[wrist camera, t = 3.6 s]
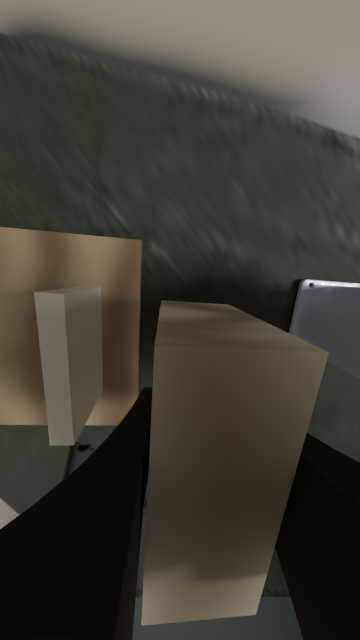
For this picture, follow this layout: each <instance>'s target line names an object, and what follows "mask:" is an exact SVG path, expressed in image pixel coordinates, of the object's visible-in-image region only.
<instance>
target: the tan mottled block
mask: <svg viewBox="0 0 360 640" xmlns="http://www.w3.org/2000/svg"><path fill="white" fill-rule="evenodd" d="M328 355H329V352H327V351H325V350H323V349H321V348H319V347H317V346H314V345H312V344H310V343H308V342H306V341H304V340H302V339H300V338H298V337H296V336H294V335H291V334H289V333H287V332H285V331H283V330H281V329H279V328H277V327H275V326H273V325H271V324H268V323H266V322H264V321H262V320H260V319H258V318H256V317H254V316H252V315H250V314H248V313H245V312H243V311H241V310H239V309H237V308H235V307H233V306H231V305H227V304H212V303H196V302H181V301H165V300H161V305H160V312H159V319H158V326H157V333H156V339H155V349H154V370H153V391H152V412H151V434H150V455H149V476H148V497H147V518H146V539H145V561H144V582H143V603H142V624H141V625H151V624H162V623H173V622H183V621H193V620H204V619H214V618H225V617H236V616H247V615H256V612H257V608H258V604H259V601H260V598H261V594H262V591H263V587H264V583H265V580H266V576H267V573H268V569H269V566H270V562H271V558H272V555H273V551H274V548H275V544H276V540H277V537H278V533H279V530H280V526H281V523H282V519H283V515H284V512H285V508H286V505H287V501H288V498H289V494H290V490H291V487H292V483H293V480H294V476H295V473H296V469H297V465H298V462H299V458H300V455H301V451H302V448H303V444H304V440H305V437H306V433H307V430H308V426H309V423H310V419H311V415H312V412H313V408H314V405H315V401H316V398H317V394H318V390H319V387H320V383H321V380H322V376H323V373H324V369H325V365H326V362H327V358H328Z"/></svg>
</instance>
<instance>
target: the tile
mask: <svg viewBox="0 0 360 640" xmlns="http://www.w3.org/2000/svg"><path fill="white" fill-rule="evenodd" d="M34 297H35V306H36V316H37V325H38V335H39V345H40V354H41V364H42V373H43V383H44V392H45V402H46V412H47V421H48V431H49V440H50V445H74V444H75V442H76V441H77V439H78V437H79V435H80V433H81V431H82V429H83V427H84V425H85V424H86V422H87V420H88V418H89V416H90V414H91V412H92V410H93V409H94V407H95V405H96V403H97V401H98V399H99V397H100V395H101V394H102V392H103V366H102V321H101V287H96V286H75V287H68V288H61V289H54V290H46V291H39V292H34Z"/></svg>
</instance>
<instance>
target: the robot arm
mask: <svg viewBox="0 0 360 640" xmlns="http://www.w3.org/2000/svg"><path fill="white" fill-rule="evenodd" d="M310 283H311V287H309V284H310ZM289 334H291V335H294V336H296V337H298V338H300V339H302V340H304V341H306V342H308V343H310V344H312V345H314V346H317V347H319V348H321V349H323V350H325V351H327V352H329V355H328V358H327V362H329V363H330V364H332V365H334V366H336V367H338V368H340V369H342V370H343V371H345V372H347V373H349V374H351V375H353V376H355V377H356V378H358V379H360V284H359V283H347V282H335V281H322V280H310V279H304V280H302V281H301V282H300V284H299V289H298V293H297V298H296V302H295V307H294V311H293V316H292V320H291V325H290V329H289ZM152 391H153V388H146V387H144V388H143V389H142V391H141V393H140V395H139V396H138V398H137V400H136V401H135V403H134V404H133V406H132V407H131V409H130V410H129V411H128V413H127V414H126V416H125V417H124V418H123V419H122V421H121V422H120V423H119V424H118V426H117V427H116V428H115V429H114V431H113V432H112V433H111V434H110V435H109V436H108V437H107V439H106V440H105V441H104V442H103V443H102V444H101V445H100V446H99V447H98V448H97V449H96V450H95V451H94V452H93V453H92V454H91V455H90V456H89V457H88V458H87V459H86V460H85V461H84V462H83V463H82V464H81V465H80V466H79V467H78V468H76V469H75V470H74V471H73V472H72V473H71V474H70V475H69V476H68V477H66V478H65V479H64V480H63V481H62V482H60V483H59V484H58V485H57V486H56V487H54V488H53V489H52V490H51V491H50V492H48V493H47V494H46V495H45V496H44V497H42V498H41V499H40V500H39V501H37V502H36V503H35V504H34V505H32V506H31V507H30V508H29V509H27V510H26V511H25V512H23V513H22V514H20V515H19V516H18V517H17V518H15V519H14V520H12V521H11V522H10V523H8V524H7V525H6V526H4V527H3V528H2V529H0V640H132V634H133V622H134V621H133V620H134V610H135V598H136V586H137V575H138V563H139V551H140V540H141V528H142V517H143V508H144V500H145V493H146V487H147V481H148V474H149V455H150V434H151V412H152ZM275 548H276V551H277V554H278V557H279V561H280V564H281V567H282V570H283V573H284V576H285V579H286V583H287V586H288V589H289V593H290V596H291V599H292V603H293V606H294V609H295V612H296V616H297V619H298V622H299V626H300V629H301V633H302V636H303V640H360V463H359V462H357V461H355V460H354V459H352V458H350V457H348V456H346V455H344V454H342V453H340V452H339V451H337V450H335V449H333V448H332V447H330V446H328V445H326V444H325V443H323V442H321V441H320V440H318V439H316V438H315V437H313V436H311V435H310V434H308V433H306V437H305V440H304V444H303V448H302V451H301V455H300V458H299V462H298V465H297V469H296V473H295V476H294V480H293V483H292V487H291V490H290V494H289V498H288V501H287V505H286V508H285V512H284V515H283V519H282V523H281V526H280V530H279V533H278V537H277V540H276V544H275Z"/></svg>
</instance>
